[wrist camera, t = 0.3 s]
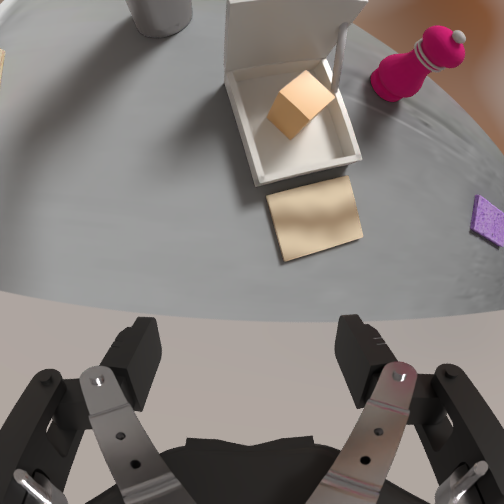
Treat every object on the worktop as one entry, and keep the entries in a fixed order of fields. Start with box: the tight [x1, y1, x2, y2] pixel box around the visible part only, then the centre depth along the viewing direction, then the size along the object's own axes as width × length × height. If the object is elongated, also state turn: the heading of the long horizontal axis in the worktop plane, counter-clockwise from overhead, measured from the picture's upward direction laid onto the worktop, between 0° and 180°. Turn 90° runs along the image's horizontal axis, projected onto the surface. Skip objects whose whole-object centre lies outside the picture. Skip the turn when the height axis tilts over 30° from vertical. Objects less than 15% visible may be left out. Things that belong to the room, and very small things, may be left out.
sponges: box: [470, 195, 504, 247], centre depth 43 cm, size 7×13×2 cm, turn 74°
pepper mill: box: [371, 26, 466, 102], centre depth 28 cm, size 7×7×20 cm
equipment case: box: [224, 0, 368, 187], centre depth 28 cm, size 17×14×18 cm
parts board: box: [266, 175, 363, 261], centre depth 39 cm, size 9×12×1 cm
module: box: [266, 70, 335, 140], centre depth 32 cm, size 4×4×9 cm
